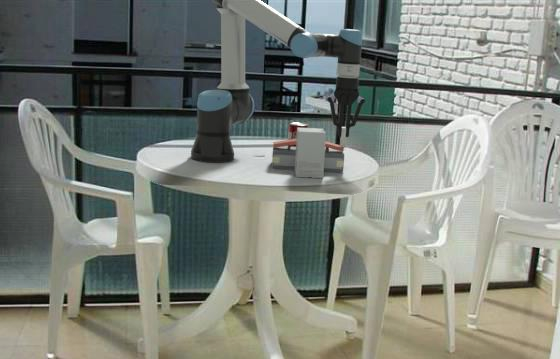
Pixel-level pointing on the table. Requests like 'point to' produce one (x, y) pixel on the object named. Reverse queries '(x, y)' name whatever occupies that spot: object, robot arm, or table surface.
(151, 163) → the table surface
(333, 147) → the right rocker
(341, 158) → the switch unit
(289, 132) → the soda can
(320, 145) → the supplement box
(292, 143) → the left rocker
